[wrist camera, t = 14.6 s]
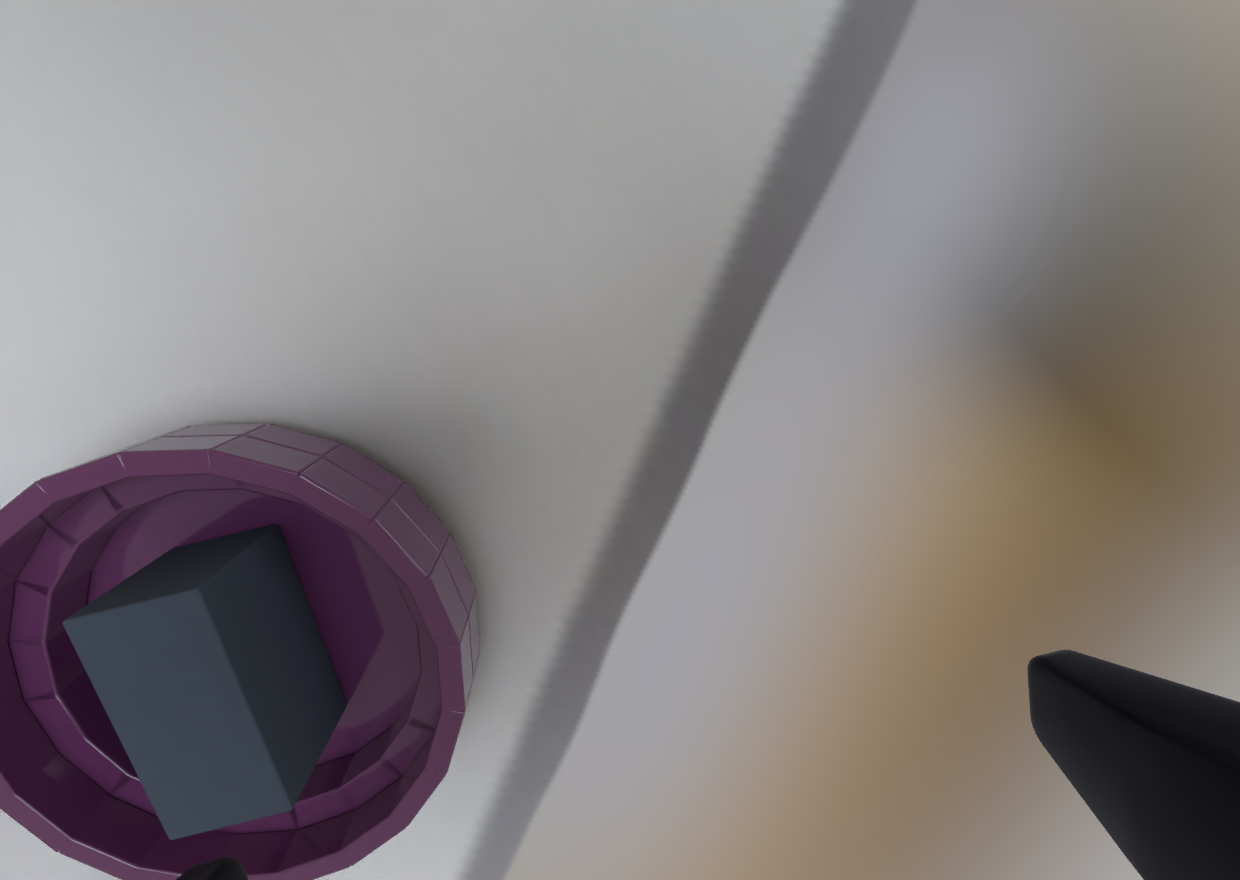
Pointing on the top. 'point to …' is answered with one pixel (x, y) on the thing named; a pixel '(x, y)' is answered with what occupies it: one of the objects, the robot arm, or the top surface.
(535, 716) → the top surface
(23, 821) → the bowl
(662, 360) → the top surface
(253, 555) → the eraser
